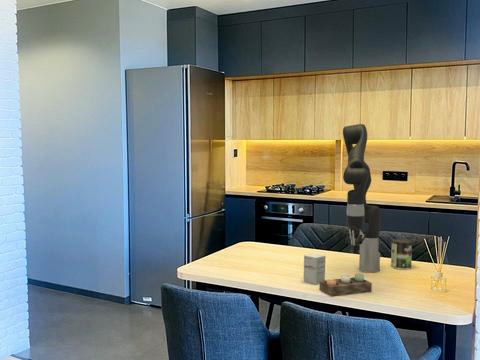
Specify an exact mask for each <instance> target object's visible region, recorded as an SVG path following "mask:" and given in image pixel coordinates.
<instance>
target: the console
mask: <svg viewBox="0 0 480 360" xmlns="http://www.w3.org/2000/svg"><path fill="white" fill-rule="evenodd" d="M327 280H328V279H327ZM327 280H326V279H325V280H323V281H319V284H318V285H319V288H318V290H319V291H320V292H322V293H324V294H326V295H328V296H329V297H340V296H347V295H348V296H349V295H356V294H366V292H367V293H372V289H373V284H372V282H371V281H369V280H367V279H364V282H356V281H355V276H353V277H350V283H348V284H343V283H341V278H334V279H333V278H332V280H336V285H330V286H329V285H327Z"/></svg>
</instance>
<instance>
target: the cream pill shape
mask: <svg viewBox="0 0 480 360" xmlns="http://www.w3.org/2000/svg"><path fill="white" fill-rule="evenodd" d="M350 278H351V276H350V275H349V274H340V279H341V283H343V284H348V283H350Z"/></svg>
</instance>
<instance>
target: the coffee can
mask: <svg viewBox="0 0 480 360" xmlns="http://www.w3.org/2000/svg"><path fill="white" fill-rule="evenodd" d="M390 241H391V250H390V251H391V253H390V254H391V256H390V267H391V268H392V269H396V270H403V271H404V270H405V271H406V270H407V271H408V270H411V269H412V254H413V253H412V251H413V250H412V249H413V241H412V240H410V239H403V238H393V239H391V240H390Z"/></svg>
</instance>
